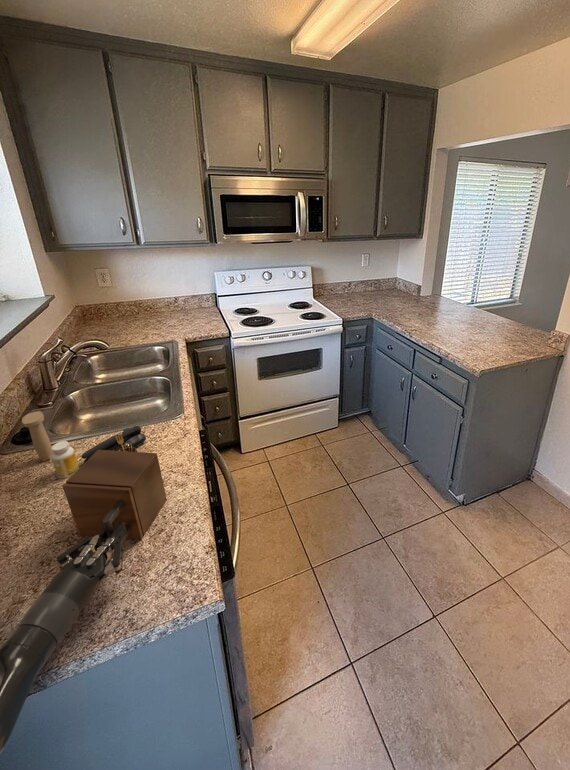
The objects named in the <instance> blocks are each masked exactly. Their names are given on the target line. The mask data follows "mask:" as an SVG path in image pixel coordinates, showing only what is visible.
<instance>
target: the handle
mask: <svg viewBox="0 0 570 770" xmlns="http://www.w3.org/2000/svg"><path fill="white" fill-rule="evenodd" d="M44 421H45V415H44V413H43V411H41V410H37V411H32V412H30V413H29V412H28V413H26V415H24V416H23V417H22V419H21V423H22V425H23V426H24V427H25V428H28V430H29V434H30V437H31V441H32V445H33V447H34V450H35V452H36V454H37V456H38V458H39V460H40V461H43V462H46V461H49V460H52V458H51V455H52V453H53V452H52V444H51V441H50V438H49V435H48V433H47V431H46V428H45V426H44V424H43V422H44Z"/></svg>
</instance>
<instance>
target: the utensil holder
mask: <svg viewBox="0 0 570 770" xmlns="http://www.w3.org/2000/svg"><path fill="white" fill-rule="evenodd" d="M121 432H122V431H119V432H118V433H120V436H121V439H120V436H119V434H118V433H117V434H114V436H116V439H117V442H118V444H121V446H120V447H121V449H120V450H119V451H128V452H138V449H137V447H136V448H135V447H132V446H131V447H129V446H128V447H125V448H124V447H123V445H122V443H123V442H124V440H123V438H122V435H121ZM117 435H118V438H119V441H118V438H117ZM128 444H129V443H128ZM126 445H127V444H126ZM129 445H130V444H129Z"/></svg>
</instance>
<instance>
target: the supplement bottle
mask: <svg viewBox="0 0 570 770" xmlns="http://www.w3.org/2000/svg"><path fill="white" fill-rule="evenodd" d="M51 447H52V452H53V453H52V455H51V461H52V464H53V467H54V469H55V473H56V476H57V478H60V479H67V478H70V477H71V476H72V475H73V474H74V473H75V472H76V471H77V470H78V469H79V468H80V465H79V462H78V458H77V456H76V453H75V452H76V451H75V450H74V448H73V447H71V445H70V443H69V442H68V440H61V441H58V442H56V443H54V444H53V445H51Z"/></svg>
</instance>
